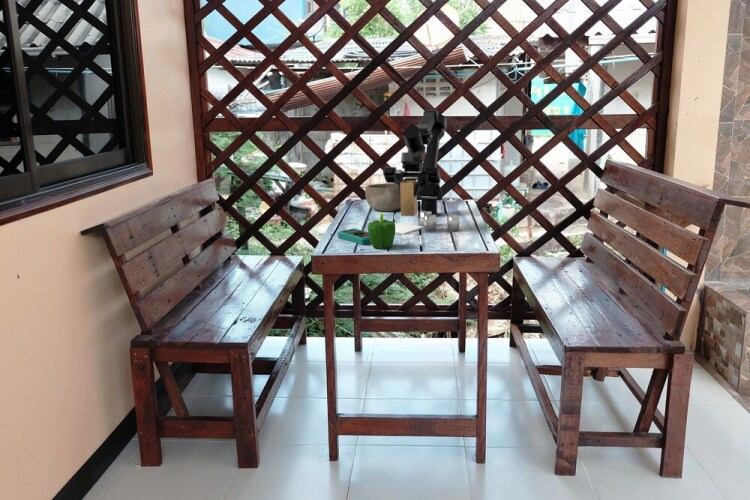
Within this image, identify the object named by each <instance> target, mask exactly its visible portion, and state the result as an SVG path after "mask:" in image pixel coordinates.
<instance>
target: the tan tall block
mask: <svg viewBox="0 0 750 500" xmlns="http://www.w3.org/2000/svg"><path fill="white" fill-rule="evenodd" d="M416 183H417V180H403V181H402V182H401V183H400V193H401V209H400V216H402V217H415V216H416V215H417V214H418V200H417V196H416V197H414V191H415V187H416Z"/></svg>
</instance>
